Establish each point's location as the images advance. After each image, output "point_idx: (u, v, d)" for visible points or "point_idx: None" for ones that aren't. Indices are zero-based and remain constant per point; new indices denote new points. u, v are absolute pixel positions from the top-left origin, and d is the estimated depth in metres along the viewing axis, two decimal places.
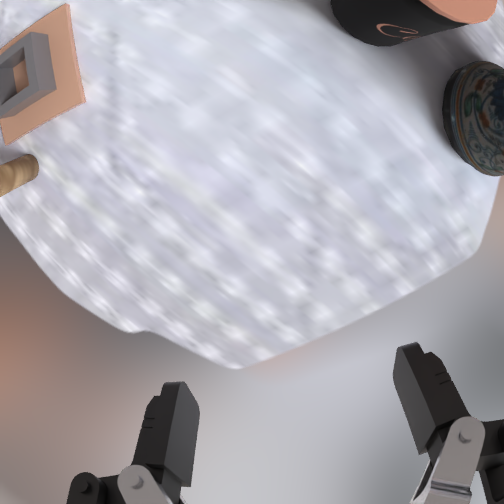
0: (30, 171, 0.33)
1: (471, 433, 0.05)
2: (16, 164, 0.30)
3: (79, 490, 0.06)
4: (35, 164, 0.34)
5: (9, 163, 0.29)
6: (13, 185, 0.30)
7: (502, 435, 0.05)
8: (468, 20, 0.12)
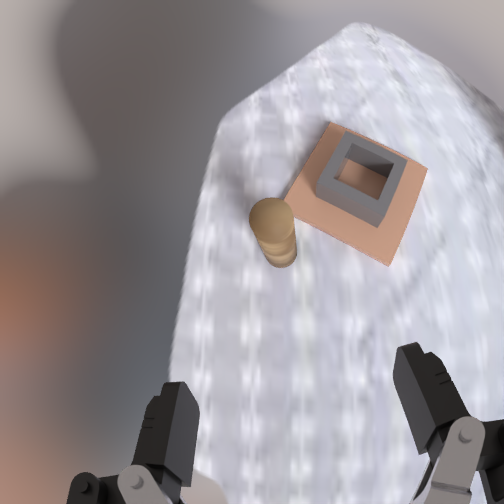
0: (290, 260, 0.36)
1: (471, 433, 0.05)
2: None
3: (79, 490, 0.06)
4: (294, 259, 0.38)
5: None
6: (280, 256, 0.33)
7: (502, 435, 0.05)
8: None
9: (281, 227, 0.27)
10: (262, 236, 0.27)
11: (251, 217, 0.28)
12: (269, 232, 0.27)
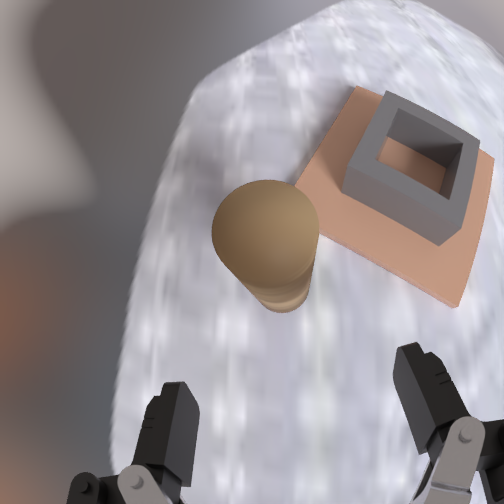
0: (298, 303, 0.20)
1: (471, 433, 0.05)
2: None
3: (79, 490, 0.06)
4: (304, 298, 0.21)
5: None
6: (281, 302, 0.16)
7: (502, 435, 0.05)
8: None
9: (290, 252, 0.11)
10: (242, 273, 0.11)
11: (217, 226, 0.12)
12: (259, 264, 0.11)
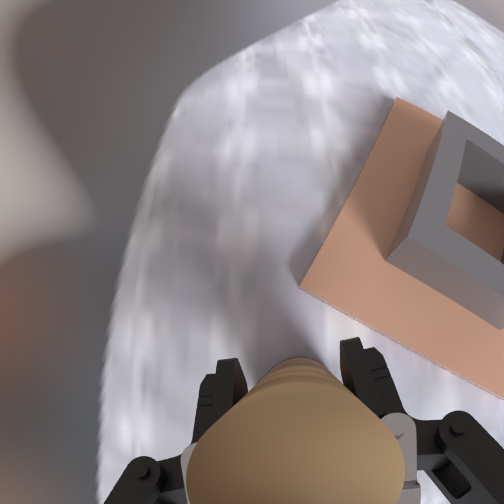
0: None
1: (399, 430, 0.06)
2: None
3: (135, 474, 0.07)
4: None
5: None
6: None
7: (440, 442, 0.06)
8: None
9: None
10: None
11: (197, 480, 0.04)
12: None
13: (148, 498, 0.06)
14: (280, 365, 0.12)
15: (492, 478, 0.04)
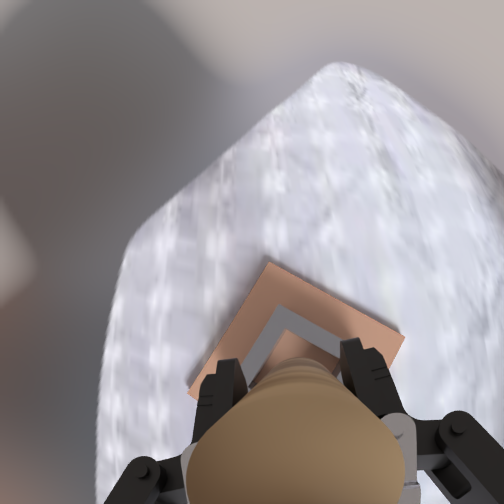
0: None
1: (399, 430, 0.06)
2: None
3: (135, 474, 0.07)
4: None
5: None
6: None
7: (440, 442, 0.06)
8: None
9: None
10: None
11: (197, 481, 0.04)
12: None
13: (148, 499, 0.06)
14: (280, 365, 0.12)
15: (492, 478, 0.04)
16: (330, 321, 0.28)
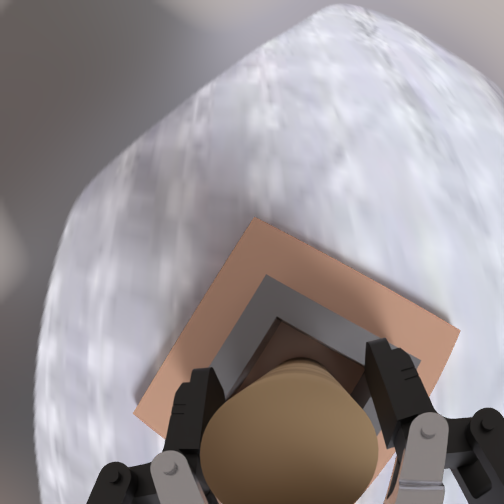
0: None
1: (433, 429, 0.06)
2: None
3: (108, 480, 0.06)
4: None
5: None
6: None
7: (469, 436, 0.05)
8: None
9: (326, 496, 0.05)
10: None
11: (209, 452, 0.06)
12: None
13: (124, 502, 0.06)
14: (282, 363, 0.14)
15: None
16: (351, 308, 0.18)
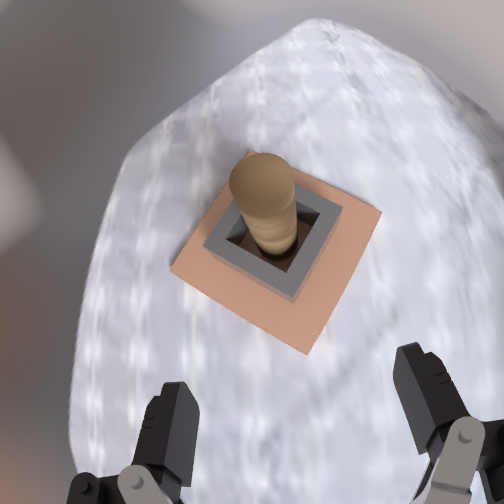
0: (289, 250, 0.27)
1: (471, 433, 0.05)
2: None
3: (79, 490, 0.06)
4: (294, 249, 0.29)
5: None
6: (275, 241, 0.24)
7: (502, 435, 0.05)
8: None
9: (276, 192, 0.18)
10: (248, 205, 0.18)
11: (232, 180, 0.19)
12: (258, 199, 0.18)
13: None
14: None
15: None
16: None
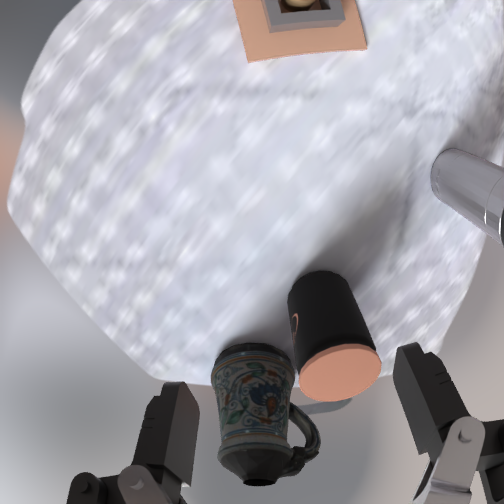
0: (297, 8, 0.27)
1: (471, 433, 0.05)
2: (314, 1, 0.25)
3: (79, 490, 0.06)
4: None
5: None
6: None
7: (502, 435, 0.05)
8: (300, 386, 0.35)
9: None
10: None
11: None
12: None
13: None
14: None
15: None
16: None
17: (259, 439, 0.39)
